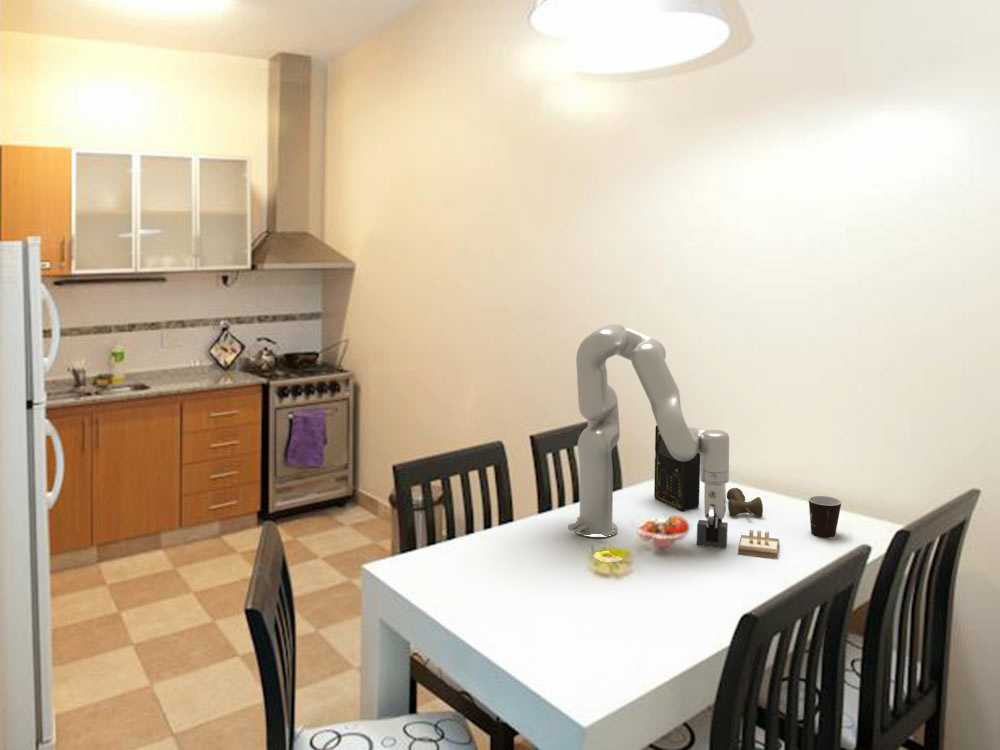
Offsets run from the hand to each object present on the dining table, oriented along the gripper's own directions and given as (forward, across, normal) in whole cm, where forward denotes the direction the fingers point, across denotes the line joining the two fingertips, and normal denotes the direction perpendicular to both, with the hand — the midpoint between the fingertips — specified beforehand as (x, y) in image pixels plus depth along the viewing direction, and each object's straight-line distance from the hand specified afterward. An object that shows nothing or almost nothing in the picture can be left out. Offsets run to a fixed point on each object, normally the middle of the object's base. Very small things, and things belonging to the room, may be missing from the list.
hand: (714, 535), depth 220 cm
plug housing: (+3, 0, 0) cm, 3 cm away
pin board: (+3, 0, -12) cm, 12 cm away
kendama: (+3, +30, -5) cm, 31 cm away
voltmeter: (+3, +32, +15) cm, 35 cm away
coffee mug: (+3, +16, -28) cm, 33 cm away
